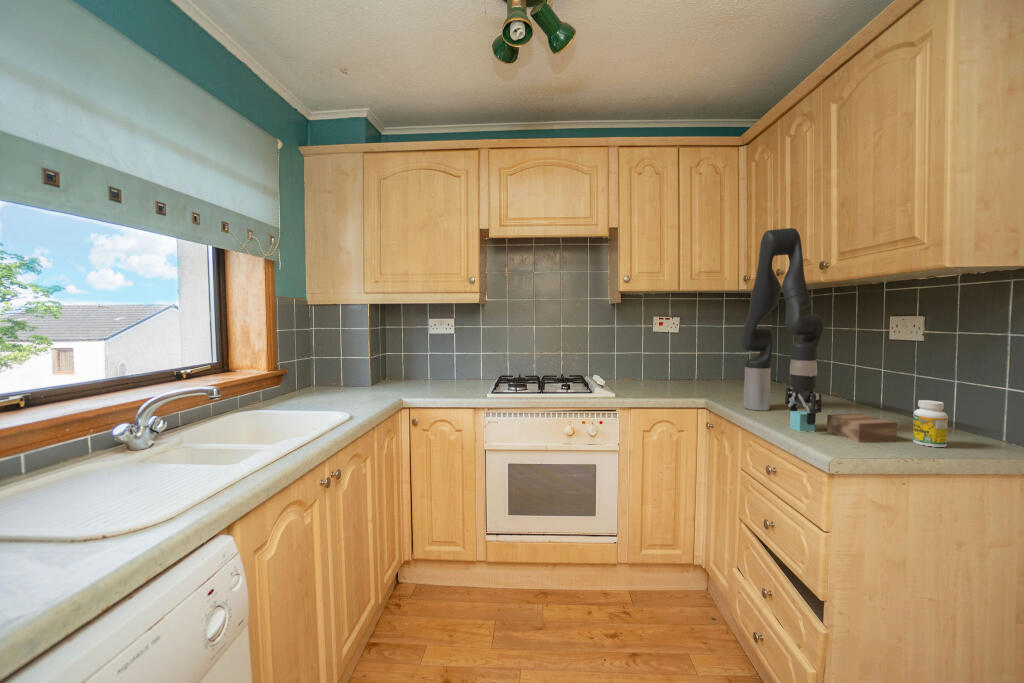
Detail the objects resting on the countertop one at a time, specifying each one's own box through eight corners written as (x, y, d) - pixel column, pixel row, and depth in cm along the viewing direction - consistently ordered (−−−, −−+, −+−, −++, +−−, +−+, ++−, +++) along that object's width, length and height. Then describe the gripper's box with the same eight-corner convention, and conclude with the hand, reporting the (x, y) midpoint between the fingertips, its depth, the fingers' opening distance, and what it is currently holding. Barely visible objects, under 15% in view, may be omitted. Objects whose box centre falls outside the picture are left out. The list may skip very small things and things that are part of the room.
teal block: (789, 428, 144) (790, 411, 143) (804, 428, 144) (804, 410, 143) (799, 432, 139) (800, 414, 138) (814, 432, 139) (815, 414, 138)
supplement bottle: (954, 448, 121) (956, 404, 120) (928, 448, 121) (931, 404, 120) (929, 440, 128) (931, 399, 127) (905, 441, 128) (907, 399, 127)
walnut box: (826, 432, 139) (827, 414, 138) (861, 431, 140) (861, 413, 139) (858, 443, 127) (859, 423, 127) (896, 442, 128) (897, 422, 127)
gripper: (778, 371, 147) (777, 416, 148) (806, 376, 133) (805, 426, 134) (799, 370, 147) (798, 416, 148) (830, 376, 133) (829, 426, 134)
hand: (802, 421), depth 141 cm, fingers open, 8 cm apart
